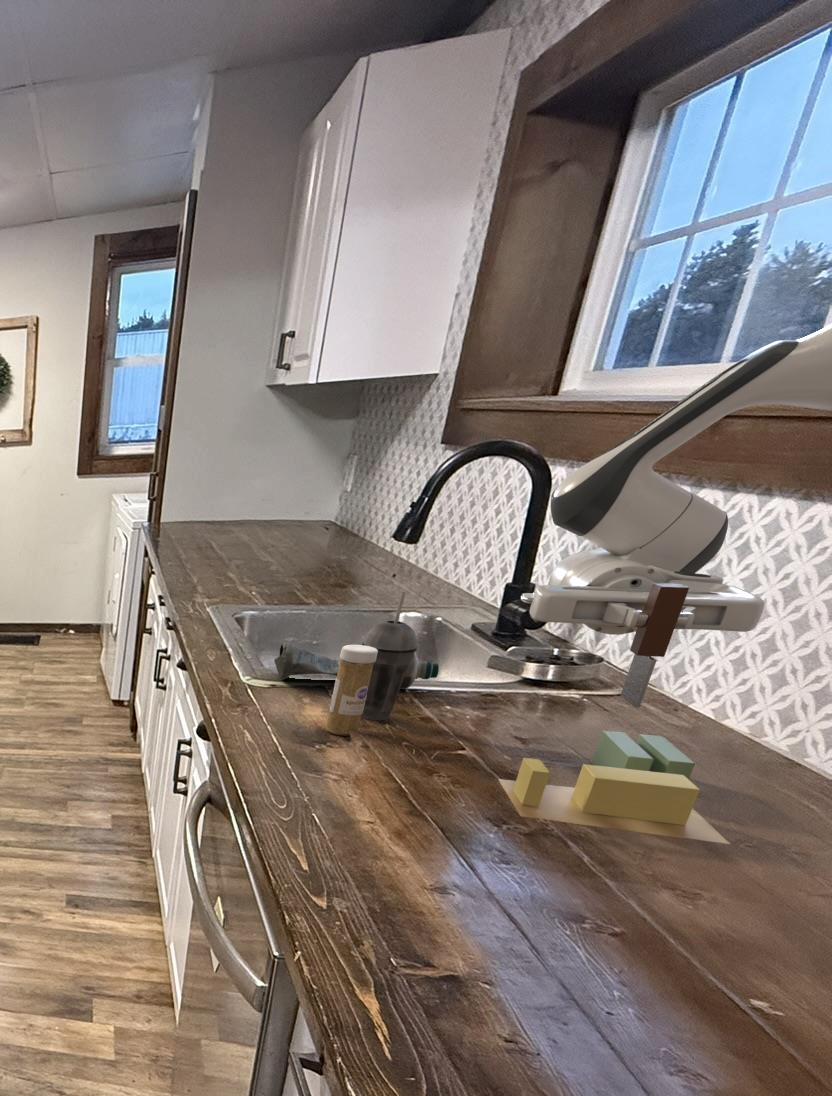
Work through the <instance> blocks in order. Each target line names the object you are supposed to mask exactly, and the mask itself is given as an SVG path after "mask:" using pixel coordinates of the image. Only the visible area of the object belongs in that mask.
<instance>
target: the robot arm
mask: <svg viewBox="0 0 832 1096" xmlns="http://www.w3.org/2000/svg"><path fill="white" fill-rule="evenodd" d="M763 405H764V406H766V405H776V406H777V405H778V406H787V407H788V406H789V407H796V408H797V407H798V408H805V409H812V410H813V409H815V410H822V411H823V410H824V411H832V323H830V324H829V325H826V326H825V327H823V328H822V329H820V330H818V331H815V332H813V333H811V334H809V335H807V336H804V337H802V338H799V339H795V340H794V339H793V340H792V339H791V340H790V339H789V340H787V339H786V340H777V341H774V342H771V343H770V344H768V345H765V346H763V347H761V348H759V349H757V350H755V351H753V352H752V353H750V354H748V355H747V356H745V357H744V358H742V359H740V360H739V361H737V362H735V363H734V364H732V365H730V366H729V367H727V368H726V369H725V370H723V371H722V372H720V373H719V374H717V375H716V376H714V377H713V378H711V379H710V380H708V381H707V382H705V383H704V384H702V385H701V386H699V387H697V388H696V389H695V390H694V391H692V392H691V393H689V394H688V395H687V396H685V397H684V398H682V399H681V400H679V401H678V402H677V403H675V404H673V405H672V406H671V407H669V408H668V409H666V410H665V411H664V412H662V413H661V414H659V415H658V416H656V417H655V418H654V419H652V420H651V421H648V423H647V424H645V425H644V426H642V427H641V428H639V429H638V430H636V431H635V432H633V433H632V434H630V435H629V436H627V437H626V438H625V439H623V440H622V441H621V442H618V443H617V444H615V445H614V446H613V447H611V448H610V449H608V450H606V451H605V452H603V453H601V454H600V455H598V456H596V457H595V458H593V459H592V460H590V461H588V462H587V463H585V464H583V465H582V466H580V467H579V468H577V469H575V470H574V471H572V472H571V473H570V474H569V475H567V477H565V478H564V479H563V480H562V481H561V482H560V484H559V485H558V486H557V487H556V488H555V489H554V491H553V492H552V493H551V495H550V514H551V520H552V522H553V525H555V526H556V527H559V528H561V529H564V530H566V531H567V532H570V533H572V534H574V535H576V536H579V537H583V538H585V540H588V541H589V542H591V543H593V544H594V545H596V546H598V547H597V548H594V549H589V550H583V551H578V552H575V553H572V554H569V555H568V556H566V557H564V558H563V559H562V560H560V561H559V562H558V563H557V564H556V565H555V566H554V567H553V569H552V571H551V573H550V575H549V577H548V578H549V579H548V584H542V585H538V586H537V587H536V588H535V590H534V591H533V592H532V593H530V592H524V593H522V594H521V595H520V601H521V602H524V603H525V604H529V605H530V607H529V615H530V617H531V618H532V619H533V620H535V621H537V622H543V623H559V624H577V625H578V624H580V625H584V626H586V627H587V628H589V629H590V630H592V631H595V632H597V633H600V634H604V635H614V636H615V635H617V636H618V635H626V634H627V635H628V634H632V633H636V631H637V628H638V627H645V626H646V624H647V620H648V619H649V615H650V613H649V612H648V611H646V610H644V607H645V605H646V602H647V599H648V596H649V593H650V590H651V587H652V584H653V583H670V584H682V585H684V586H687V587H689V590H688V593H687V596H686V598H685V601H684V604H683V607H682V609H681V612H680V615H679V618H678V620H677V623H676V626H675V629H674V630H703V631H704V630H705V631H722V632H723V631H724V632H738V633H739V632H740V633H746V632H747V633H748V632H751V631H753V630H755V629H756V627H757V625H758V623H759V622H760V619H761V617H762V615H763V612H764V608H765V601H764V600H763V598H762V597H759V596H757V595H756V594H753V593H751V592H749V591H747V590H745V589H742V588H739V587H736V586H733V585H729V584H724V579H723V577H720V576H718V575H712V574H711V575H710V574H705V573H697V572H699V571H700V570H702V568H704V567H705V566H706V565H707V564H708V563H709V562H711V560H712V559H713V558H715V556H716V555H717V554H718V553H719V552H720V550H721V549H722V547H723V545H724V542H725V539H726V536H727V532H728V528H729V516H728V513H727V511H725V510H723V509H721V508H720V507H717V506H716V505H715V504H713V503H711V502H709V501H707V500H706V499H704V498H703V497H701V496H699V495H697V494H696V493H694V492H691V491H689V490H688V489H685V488H684V487H681V486H680V485H678V484H676V483H675V482H673V481H672V480H670V479H668V478H666V477H664V476H662V475H661V474H659V473H658V472H656V471H655V470H654V469H653V466H654V465H655V464H656V463H657V462H658V461H660V460H661V459H663V458H664V457H666V456H667V455H669V454H670V453H672V452H673V451H675V450H677V449H678V448H679V447H681V446H682V445H684V444H685V443H687V442H688V441H690V440H691V439H693V438H694V437H696V436H697V435H698V434H699V433H701V432H704V431H705V430H706V429H708V428H709V427H710V426H712V425H714V424H715V423H717V422H718V421H720V420H721V419H723V418H724V417H726V416H728V415H730V414H732V413H734V412H736V411H739V410H742V409H745V408H748V407H754V406H763Z"/></svg>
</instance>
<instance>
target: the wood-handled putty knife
mask: <svg viewBox="0 0 832 1096" xmlns="http://www.w3.org/2000/svg"><path fill="white" fill-rule="evenodd" d="M688 590H689V587H687V586H684V585H682V584H670V583H653V584H652V587H651V590H650V593H649V596H648V599H647V602H646V605H645V607H644V610H646V611H648V612H649V613H650V615H649V619H648V620H647V624H646V626H645V627H638V628H637V631H636V632H635V634H634V637H633V639H632V643H631V646H630V647H629V648H630V649H629V651H630V652H631V653H632V654H634V655H633V657H632V661H631V664H630V667H629V669H628V672H627V675H626V678H625V681H624V683H623V686H622V689H621V691H620V697H621V698H622V699H624V700H625V701H626V702H627V703H629V704H630V705H632V706H633V707H634V708H636V709H640V708H641V705H642V702H643V700H644V697H645V694H646V691H647V688H648V686H649V683H650V681H651V677H652V675H653V671H654V669H655V667H656V663H657V659H656V658H654V657H659V658H665V656H666V653H667V650H668V648H669V645H670V642H671V639H672V638H673V634H674V632H675V630H676V629H675V626H676V623H677V620H678V618H679V615H680V612H681V609H682V607H683V604H684V601H685V598H686V596H687V593H688Z"/></svg>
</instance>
